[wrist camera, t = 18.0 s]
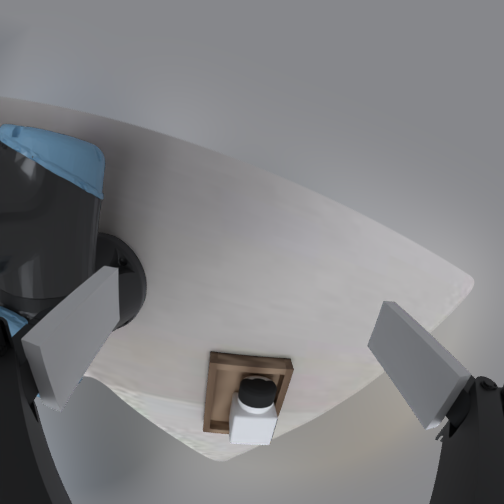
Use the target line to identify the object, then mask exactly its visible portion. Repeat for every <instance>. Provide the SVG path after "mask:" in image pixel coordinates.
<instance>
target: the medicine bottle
mask: <svg viewBox="0 0 504 504" xmlns="http://www.w3.org/2000/svg"><path fill="white" fill-rule="evenodd" d="M276 391H277V386H276V385H275V383H274V382H273V381H272V380H270V379H269V378H266V377H263V376H257V375H254V376H248V377H246V378H244V379H242V380H241V382H240V387H239V392H234V393H233V396H232V402H231V408H230V415H229V438H230V443H233V444H253V445H269V444H270V443H271V440H272V437H273V433H274V430H275V427H276V423H277V420H278V417H277V413H276V409H275V405H274V399H275V395H276Z"/></svg>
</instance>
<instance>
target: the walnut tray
mask: <svg viewBox="0 0 504 504" xmlns="http://www.w3.org/2000/svg"><path fill="white" fill-rule="evenodd" d="M293 370H294V369H293V365H292V362H291V359H287V358H271V357H258V356H246V355H236V354H227V353H218V352H211V353H210V363H209V372H208V382H207V392H206V402H205V413H204V425H203V432H211V433H221V434H229V415H230V408H231V402H232V396H233V393H234V392H239V387H240V382H241V380H242V379H244V378H246V377H248V376H254V375H257V376H263V377H266V378H269V379H270V380H272V381H273V382H274V383H275V385H276V386H277V391H276V395H275V399H274V405H275V409H276V413H277V417H278V415H279V413H280V410H281V407H282V404H283V401H284V398H285V395H286V392H287V389H288V386H289V383H290V380H291V377H292V373H293Z"/></svg>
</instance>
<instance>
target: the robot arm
mask: <svg viewBox="0 0 504 504" xmlns="http://www.w3.org/2000/svg"><path fill="white" fill-rule="evenodd" d="M104 170H105V158H104V155H103V153H102V151H101V150H100V149H99V148H98V147H97V146H95V145H94V144H91V143H89V142H86V141H83V140H80V139H77V138H74V137H71V136H67V135H64V134H60V133H56V132H52V131H48V130H43V129H38V128H33V127H24V126H17V125H14V124H3V125H2V126H1V127H0V504H72V503H71V501H70V499H69V496H68V494H67V492H66V490H65V488H64V486H63V483H62V481H61V479H60V477H59V474H58V472H57V469H56V467H55V464H54V461H53V459H52V456H51V453H50V450H49V448H48V444H47V441H46V438H45V435H44V432H43V429H42V425H41V422H40V418H39V414H38V411H37V407H36V404H35V402H34V399H35V397H36V396H38V397H40V398H41V400H42V402H43V405H45V406H47V407H50V408H52V409H54V410H57V411H59V412H62V410H63V408H64V406H65V405H66V403H67V401H68V399H69V398H70V396H71V395H72V393H73V391H74V390H75V388H76V386H77V385H78V384H79V383H80V381H81V380H82V377H83V375H84V373H85V372H86V370H87V369H88V367H89V365H90V364H91V362H92V361H93V359H94V358H95V356H96V354H97V353H98V351H99V350H100V348H101V347H102V345H103V344H104V342H105V341H106V339H107V338H108V336H109V335H110V333H111V332H113V331H115V330H116V329H118V328H121V327H123V326H125V325H127V324H128V323H129V322H131V321H132V320H133V319H134V318H135V316H136V315H137V313H138V312H139V310H140V309H141V307H142V305H143V303H144V300H145V296H146V279H145V274H144V271H143V268H142V266H141V263H140V262H139V260H138V258H137V256H136V255H135V254H134V252H133V251H132V250H131V249H130V248H129V247H128V246H127V245H126V244H125V243H124V242H122V241H121V240H119V239H118V238H116V237H114V236H111V235H109V234H105V233H98V224H99V215H100V207H101V200H102V199H103V197H104V195H103V193H102V188H103V178H104ZM367 346H368V347H369V349H370V350H371V351H372V353H373V354H374V356H375V357H376V358H377V360H378V361H379V363H380V364H381V366H382V367H383V368H384V370H385V371H386V373H387V374H388V376H389V377H390V378H391V380H392V381H393V383H394V384H395V386H396V387H397V389H398V390H399V391H400V393H401V394H402V396H403V397H404V399H405V400H406V402H407V403H408V405H409V406H410V407H411V409H412V411H413V412H414V414H415V415H416V417H417V418H418V420H419V421H420V423H421V424H422V425H423V427H424V429H425V430H427V429H431V428H434V427H437V426H438V425H439V424H440V423H441V421H442V420H443V419H444V417H445V416H446V417H447V418H448V419H449V421H448V422H447V423H446V425H445V426H444V427H443V429H442V430H441V431H440V433H439V434H438V435H437V437H436V440H438V439H439V437H440V436H443V438H442V439H441V440H440V441H441V442H442V449H441V455H440V460H439V466H438V471H437V475H436V480H435V484H434V488H433V492H432V496H431V500H430V504H504V385H503V387H502V388H498V387H497V385H496V383H494V382H493V381H492V380H491V379H489V378H486V377H482V376H480V377H477V378H476V379H475V378H474V377H473V376H472V375H471V373H470V372H469V371H468V370H467V369H466V368H465V367H464V366H463V365H462V364H461V363H460V362H459V361H457V359H456V358H455V357H454V356H452V354H451V353H450V352H449V351H448V350H446V349H445V348H444V347H443V346H442V345H441V344H440V343H439V342H438V341H437V340H436V339H435V338H434V337H433V336H432V335H431V334H430V333H429V332H427V331H426V330H425V329H424V328H423V327H422V326H421V325H420V324H419V323H418V322H417V321H416V320H414V319H413V318H412V317H411V316H410V315H409V314H408V313H407V312H406V311H405V310H403V309H402V308H401V307H400V306H399V305H398V304H397V303H396V302H389V301H383V304H382V307H381V310H380V313H379V316H378V319H377V322H376V324H375V327H374V330H373V333H372V335H371V338H370V340H369V343H368V345H367Z"/></svg>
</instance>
